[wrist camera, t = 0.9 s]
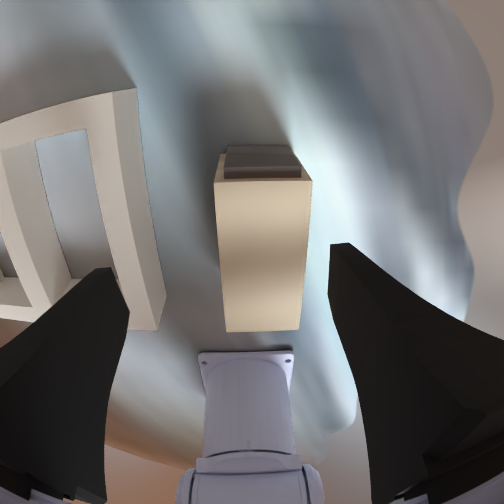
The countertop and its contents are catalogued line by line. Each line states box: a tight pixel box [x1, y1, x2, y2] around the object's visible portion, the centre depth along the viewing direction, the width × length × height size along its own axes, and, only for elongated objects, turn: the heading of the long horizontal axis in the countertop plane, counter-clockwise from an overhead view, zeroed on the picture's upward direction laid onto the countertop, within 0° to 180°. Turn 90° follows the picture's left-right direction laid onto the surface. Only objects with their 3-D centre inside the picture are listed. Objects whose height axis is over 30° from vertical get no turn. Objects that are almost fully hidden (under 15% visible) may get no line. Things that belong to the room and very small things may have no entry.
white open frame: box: [0, 88, 167, 331], centre depth 16 cm, size 14×17×4 cm
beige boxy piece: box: [214, 145, 313, 332], centre depth 16 cm, size 9×4×5 cm, turn 1°
